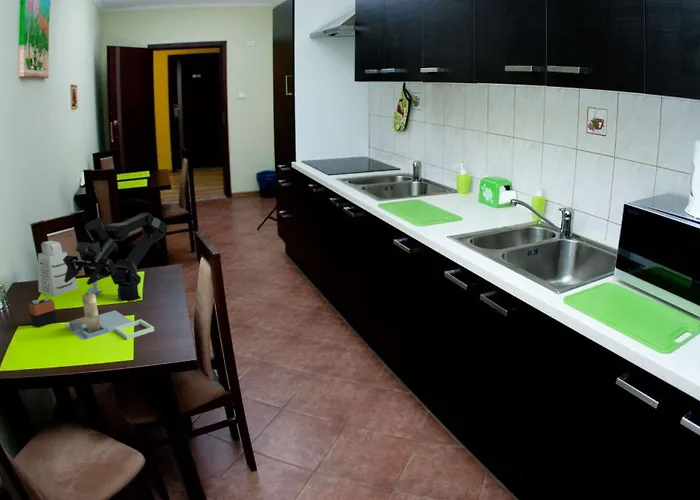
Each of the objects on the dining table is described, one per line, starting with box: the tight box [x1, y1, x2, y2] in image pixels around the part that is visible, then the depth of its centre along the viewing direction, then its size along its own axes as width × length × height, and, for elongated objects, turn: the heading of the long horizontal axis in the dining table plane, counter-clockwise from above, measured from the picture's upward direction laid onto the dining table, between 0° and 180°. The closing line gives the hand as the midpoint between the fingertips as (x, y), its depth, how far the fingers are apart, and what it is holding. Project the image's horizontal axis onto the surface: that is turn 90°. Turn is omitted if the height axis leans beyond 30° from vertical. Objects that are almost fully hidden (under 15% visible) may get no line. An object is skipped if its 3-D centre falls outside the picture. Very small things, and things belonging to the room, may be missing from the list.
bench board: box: [63, 309, 133, 341], centre depth 200 cm, size 18×17×4 cm
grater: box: [37, 240, 79, 297], centre depth 233 cm, size 10×10×20 cm
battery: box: [28, 297, 58, 328], centre depth 201 cm, size 4×7×10 cm, turn 140°
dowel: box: [81, 293, 100, 334], centre depth 192 cm, size 4×4×13 cm
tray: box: [114, 318, 155, 340], centre depth 195 cm, size 9×9×2 cm
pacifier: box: [84, 281, 104, 297], centre depth 230 cm, size 7×6×6 cm
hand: (76, 282), depth 198 cm, fingers open, 9 cm apart
